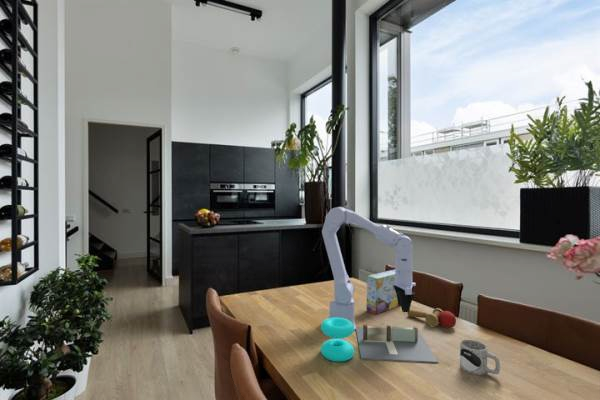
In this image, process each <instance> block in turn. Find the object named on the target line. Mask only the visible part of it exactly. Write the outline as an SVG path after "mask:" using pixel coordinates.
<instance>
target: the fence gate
mask: <svg viewBox="0 0 600 400" xmlns="http://www.w3.org/2000/svg"><path fill="white" fill-rule="evenodd" d="M391 329H392V341H411V342H418V330H419V327H417V326H413V327H399V326H397V327H396V326H391Z"/></svg>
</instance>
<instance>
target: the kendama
mask: <svg viewBox="0 0 600 400" xmlns="http://www.w3.org/2000/svg"><path fill="white" fill-rule="evenodd" d="M406 314H407V316H408V317H409V318H421V319H425V321H426V324H428V325H429V327H433V328H435V327H438V325H440V326H442V327H443V328H445V329H452V328H454V327H455V326H456V324H457V319H456V315H455V314H454V313H452V312H451V311H449V310H442V308H438V307H437V308H434V309H433V310H432V312H425V311H419V310H416V309H412V308H410V310H409V312H406Z"/></svg>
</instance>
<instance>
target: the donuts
mask: <svg viewBox="0 0 600 400" xmlns="http://www.w3.org/2000/svg"><path fill="white" fill-rule="evenodd" d="M320 330H321V331H322V333H323V335H324V334H325V336H327V337H330V339H327V340H326V341H324V342H323V343H322V344H321V346H320V347H321V348H320V352H321V355H322V356H323V357H324V358H325V359H327V360H328V361H332V362H346V361H349V360H350V359H352V357H353V356H354V354H355V349H354V347H353V345H352V344H351V342H349V341H347V340H345V338H348V337H350V336H351V335H352V334H353V333H354V331H355V330H354V325H353V323H352V322H351V321H349V320H347V319H344V318H338V317H334V318H329V317H328V318H325V319H324V320H323V321H322V322H321V324H320ZM331 338H332V339H331Z"/></svg>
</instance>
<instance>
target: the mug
mask: <svg viewBox="0 0 600 400" xmlns="http://www.w3.org/2000/svg"><path fill="white" fill-rule="evenodd" d="M459 343H460V344H459V345H460V347H459V348H460V349H459V352H460V353H459V357H460V358H459V361H460V362H459V367H460V369H461V370H462V371H464V372H466V373H469V374H471V375H476V376H483V375H486V374H487V373H488V374H493V375H499V374H500V369H501V364H500V358H499V357H497V356H496V355H495V354H493V353H492V352H490V351H488V345H486V344H485V343H483V342H481V341H478V340H476V339H463V340H461V341H460V342H459ZM488 358H489V359H492V360H494V362H495V368H491V367H490V366H488Z"/></svg>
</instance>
